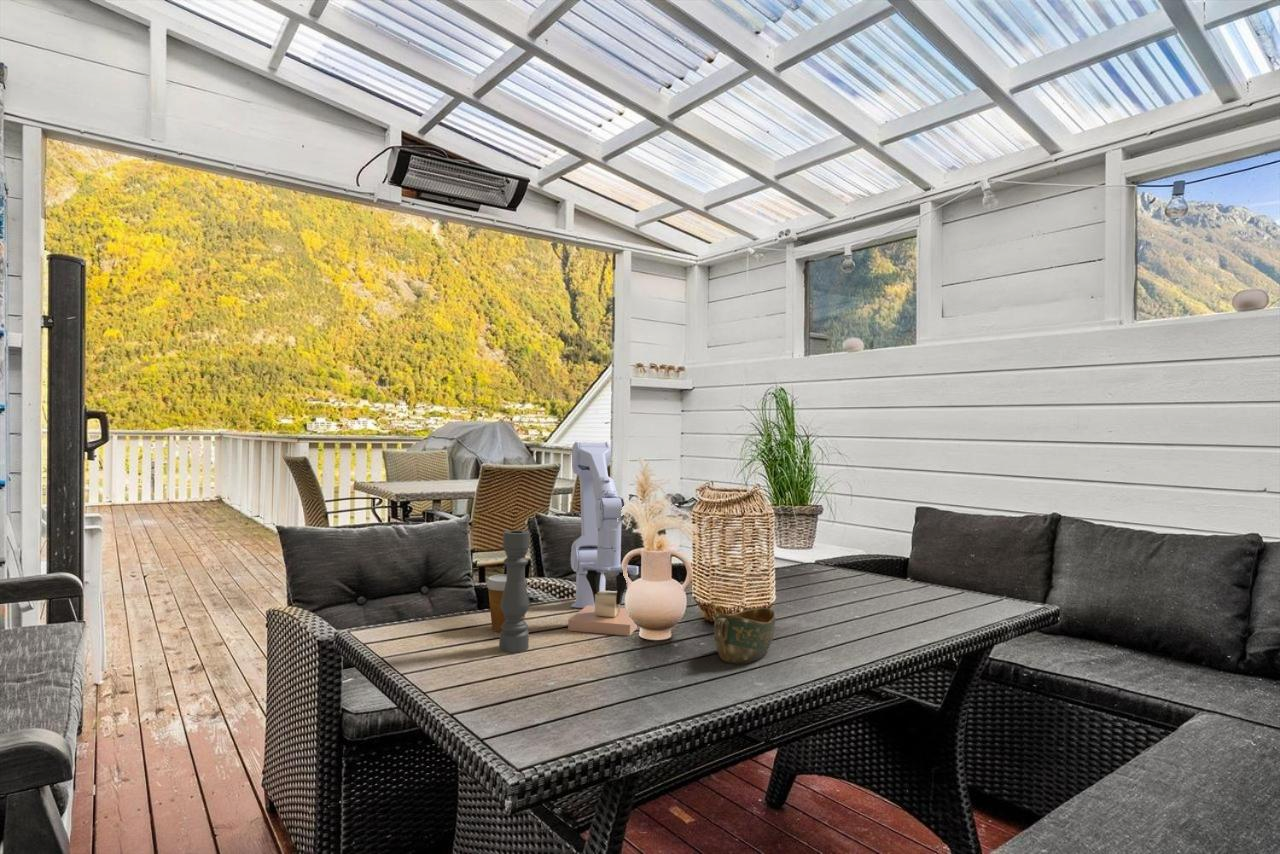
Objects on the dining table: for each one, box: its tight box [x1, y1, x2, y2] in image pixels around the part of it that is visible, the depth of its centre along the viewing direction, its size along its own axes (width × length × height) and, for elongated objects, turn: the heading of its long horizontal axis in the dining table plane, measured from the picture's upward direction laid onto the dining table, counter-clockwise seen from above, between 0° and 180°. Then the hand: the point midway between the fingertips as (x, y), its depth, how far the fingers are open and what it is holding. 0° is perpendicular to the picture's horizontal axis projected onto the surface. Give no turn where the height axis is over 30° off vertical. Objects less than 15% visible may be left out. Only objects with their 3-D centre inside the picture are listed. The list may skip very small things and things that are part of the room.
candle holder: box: [498, 529, 531, 654], centre depth 157 cm, size 6×6×25 cm
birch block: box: [595, 590, 621, 617], centre depth 177 cm, size 5×5×5 cm
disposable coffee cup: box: [485, 573, 528, 633], centre depth 172 cm, size 10×10×12 cm
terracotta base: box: [567, 605, 638, 637], centre depth 178 cm, size 15×15×2 cm
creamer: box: [713, 607, 776, 665], centre depth 156 cm, size 13×20×10 cm, turn 116°
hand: (607, 602), depth 178 cm, fingers closed on birch block, 5 cm apart
